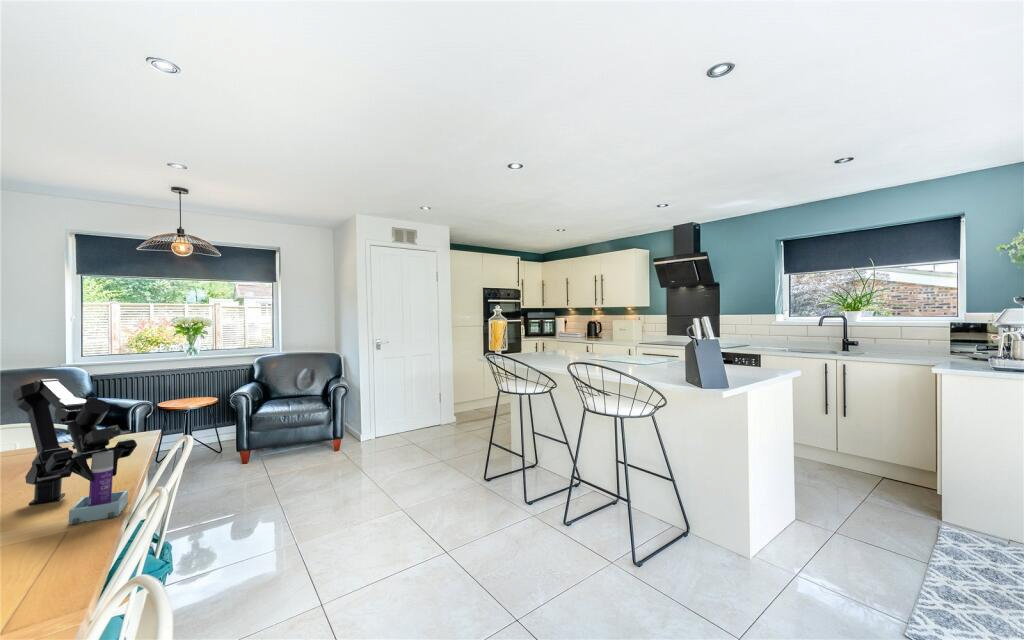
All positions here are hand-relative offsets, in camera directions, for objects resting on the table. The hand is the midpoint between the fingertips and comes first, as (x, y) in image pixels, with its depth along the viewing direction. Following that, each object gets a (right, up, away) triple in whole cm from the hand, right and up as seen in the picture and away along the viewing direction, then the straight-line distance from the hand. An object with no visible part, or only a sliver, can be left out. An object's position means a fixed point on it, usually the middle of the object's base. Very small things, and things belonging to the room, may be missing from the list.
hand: (104, 477), depth 120 cm
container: (-1, -8, 0) cm, 8 cm away
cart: (-1, -10, 0) cm, 10 cm away
